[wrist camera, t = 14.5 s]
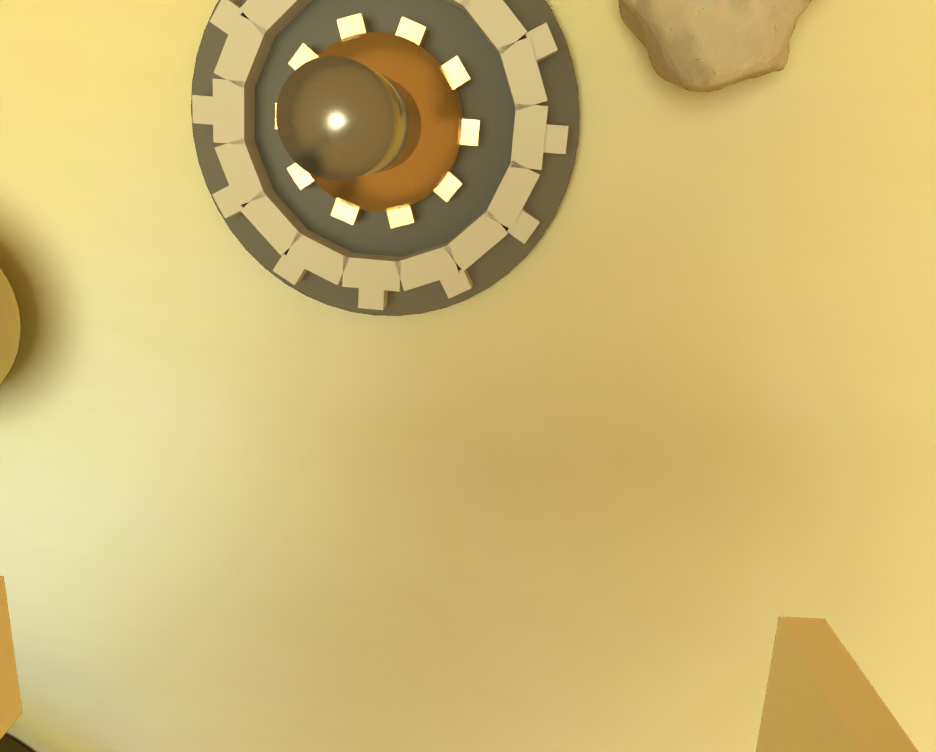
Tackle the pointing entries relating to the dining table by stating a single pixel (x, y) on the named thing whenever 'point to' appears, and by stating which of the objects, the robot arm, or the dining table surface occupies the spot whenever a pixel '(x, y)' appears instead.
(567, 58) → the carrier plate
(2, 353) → the teacup
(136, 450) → the dining table surface
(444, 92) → the sun gear
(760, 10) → the ceramic sculpture
